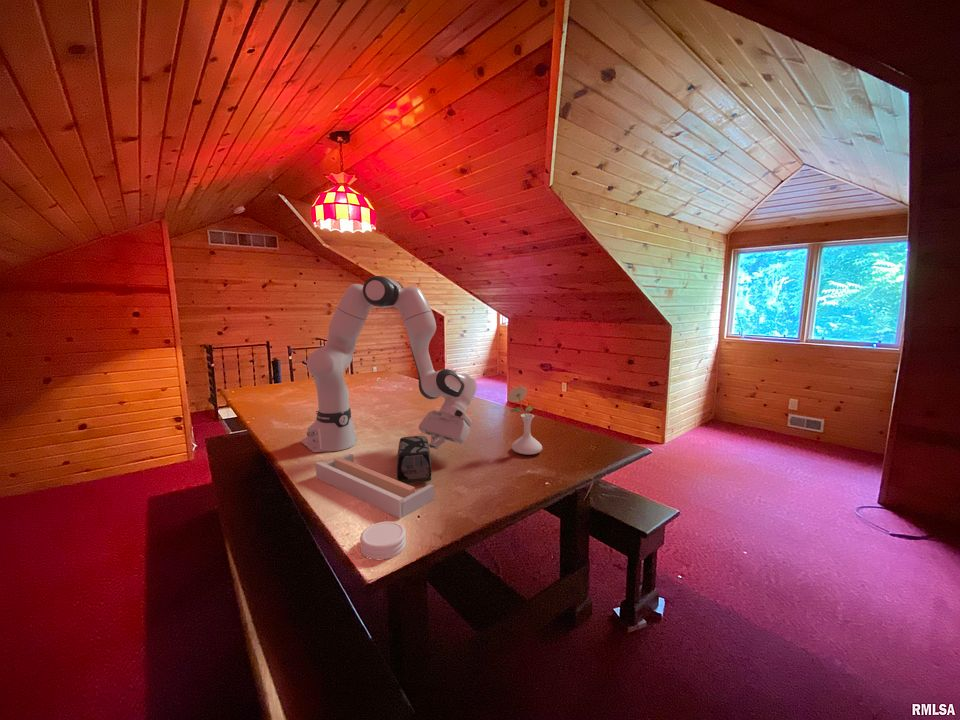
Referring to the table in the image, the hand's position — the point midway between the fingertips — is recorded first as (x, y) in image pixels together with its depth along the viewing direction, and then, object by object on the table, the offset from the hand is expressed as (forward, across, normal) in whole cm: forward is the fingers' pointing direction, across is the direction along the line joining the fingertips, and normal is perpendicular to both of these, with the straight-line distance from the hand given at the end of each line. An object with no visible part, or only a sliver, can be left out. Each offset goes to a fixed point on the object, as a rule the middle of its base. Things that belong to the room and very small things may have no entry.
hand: (433, 447), depth 135 cm
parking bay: (+22, 0, -16) cm, 27 cm away
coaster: (+33, +25, -27) cm, 49 cm away
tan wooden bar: (+22, 0, -16) cm, 27 cm away
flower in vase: (-15, +22, +21) cm, 34 cm away
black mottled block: (+10, +1, -4) cm, 11 cm away
